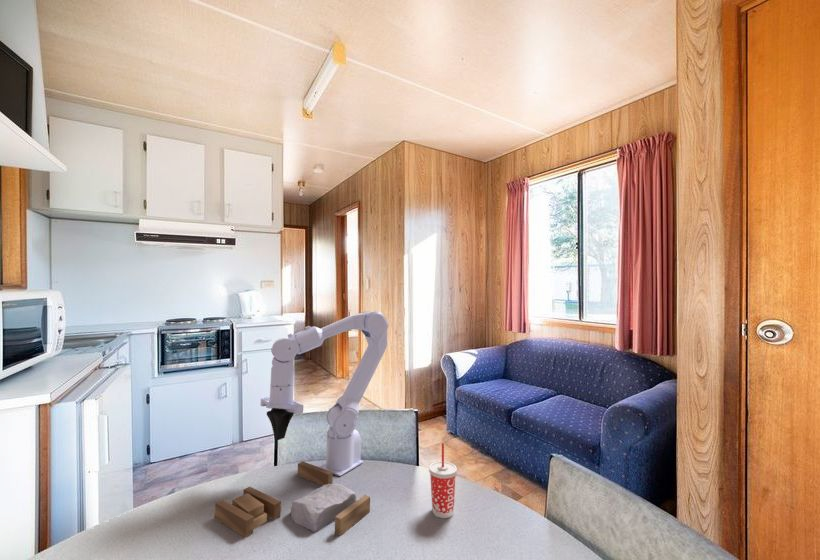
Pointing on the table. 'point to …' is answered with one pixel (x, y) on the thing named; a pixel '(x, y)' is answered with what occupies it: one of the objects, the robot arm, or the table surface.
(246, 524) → the wooden bar set
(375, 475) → the table surface
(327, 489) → the stone block
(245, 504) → the offcut top
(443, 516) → the beverage cup
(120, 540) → the table surface
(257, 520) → the offcut low
